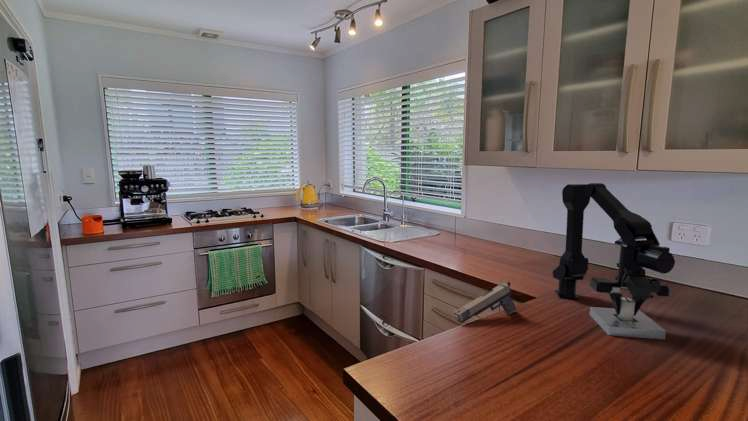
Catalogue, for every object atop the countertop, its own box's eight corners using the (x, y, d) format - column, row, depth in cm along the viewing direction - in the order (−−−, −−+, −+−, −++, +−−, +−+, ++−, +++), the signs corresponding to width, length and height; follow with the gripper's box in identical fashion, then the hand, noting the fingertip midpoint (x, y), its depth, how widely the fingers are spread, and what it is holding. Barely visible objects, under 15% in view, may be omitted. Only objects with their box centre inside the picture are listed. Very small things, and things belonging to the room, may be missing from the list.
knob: (615, 316, 112) (617, 296, 111) (629, 317, 111) (631, 297, 110) (621, 322, 108) (623, 301, 107) (635, 323, 107) (637, 302, 107)
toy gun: (461, 338, 115) (452, 311, 113) (513, 306, 121) (506, 279, 119) (465, 342, 113) (456, 314, 110) (519, 308, 119) (511, 281, 116)
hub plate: (589, 314, 118) (590, 306, 118) (638, 317, 116) (639, 309, 115) (608, 335, 104) (609, 325, 104) (665, 339, 102) (666, 330, 102)
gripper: (607, 269, 101) (601, 324, 103) (685, 273, 98) (678, 329, 100) (591, 258, 112) (586, 308, 114) (661, 261, 109) (655, 312, 111)
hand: (625, 314), depth 110 cm, fingers closed on knob, 4 cm apart
